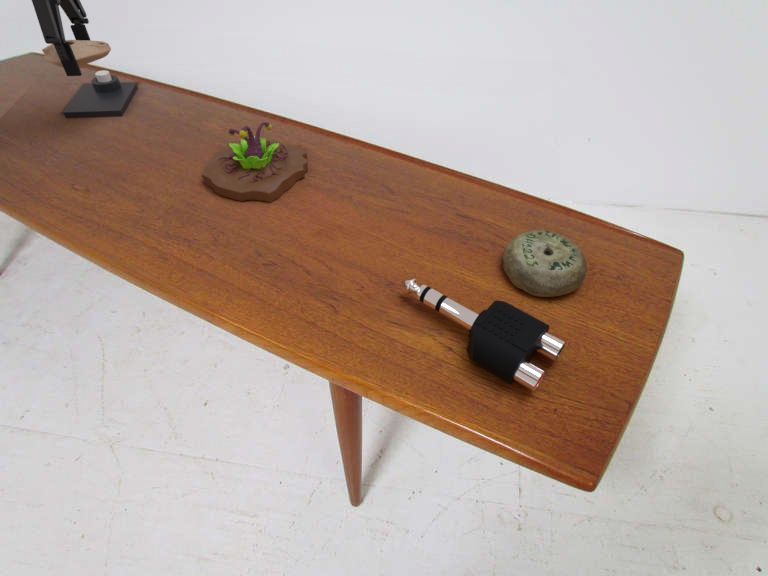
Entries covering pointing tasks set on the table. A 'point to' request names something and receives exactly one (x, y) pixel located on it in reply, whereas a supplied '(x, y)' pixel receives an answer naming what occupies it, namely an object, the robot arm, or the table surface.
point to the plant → (255, 167)
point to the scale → (101, 99)
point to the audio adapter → (497, 335)
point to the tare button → (103, 76)
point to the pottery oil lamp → (79, 52)
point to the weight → (544, 263)
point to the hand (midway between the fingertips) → (82, 65)
